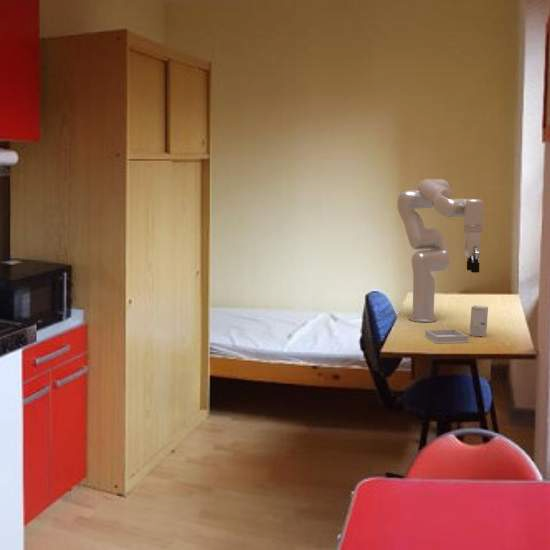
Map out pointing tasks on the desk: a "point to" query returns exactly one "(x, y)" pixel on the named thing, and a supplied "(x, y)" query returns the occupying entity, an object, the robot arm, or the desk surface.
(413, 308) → the robot arm
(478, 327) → the skincare box
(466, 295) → the desk surface
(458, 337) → the holder
